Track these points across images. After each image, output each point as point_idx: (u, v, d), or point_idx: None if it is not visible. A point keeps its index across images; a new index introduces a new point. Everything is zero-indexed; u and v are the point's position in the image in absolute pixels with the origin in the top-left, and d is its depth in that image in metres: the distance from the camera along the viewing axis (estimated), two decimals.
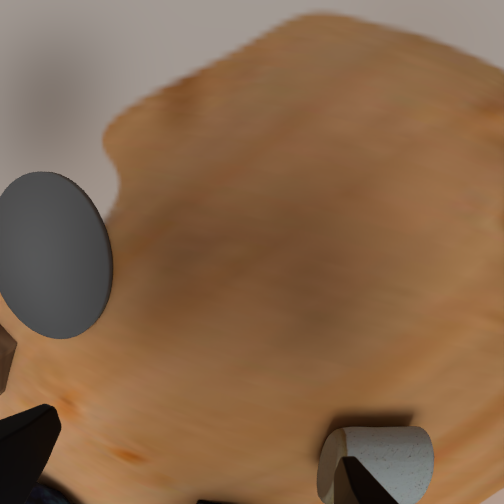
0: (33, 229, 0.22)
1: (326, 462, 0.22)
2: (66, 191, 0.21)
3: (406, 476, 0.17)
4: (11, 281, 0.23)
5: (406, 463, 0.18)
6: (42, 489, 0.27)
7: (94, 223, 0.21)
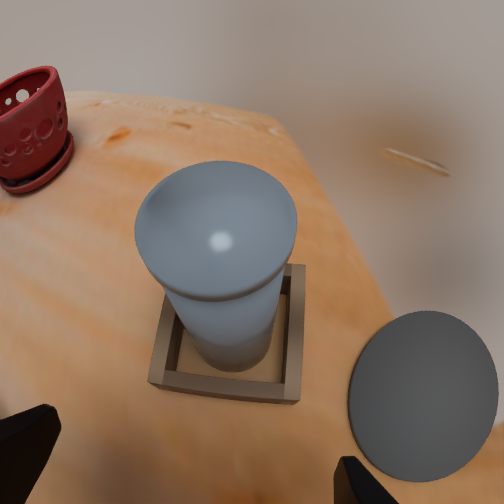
0: (452, 372, 0.21)
1: None
2: (493, 383, 0.20)
3: None
4: (387, 372, 0.21)
5: None
6: None
7: (490, 423, 0.18)
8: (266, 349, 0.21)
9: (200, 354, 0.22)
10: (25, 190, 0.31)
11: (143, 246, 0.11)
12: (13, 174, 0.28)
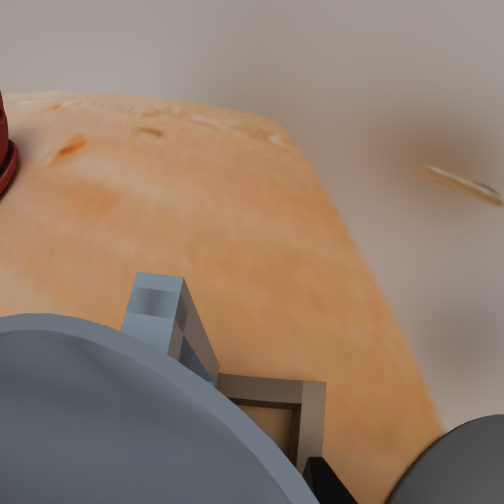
0: None
1: None
2: None
3: None
4: None
5: None
6: None
7: None
8: None
9: None
10: None
11: None
12: None
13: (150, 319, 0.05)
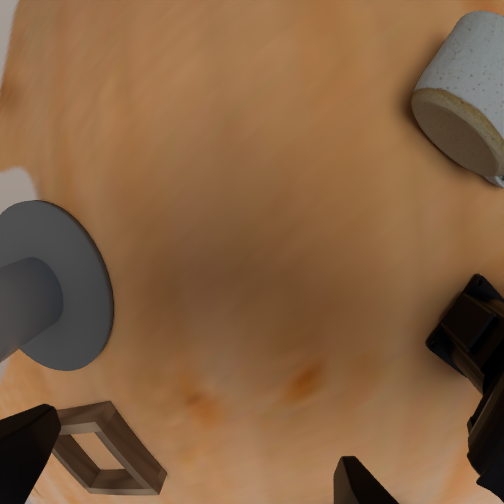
0: None
1: (452, 141, 0.15)
2: (4, 220, 0.20)
3: (494, 38, 0.10)
4: (46, 344, 0.22)
5: (476, 33, 0.11)
6: None
7: (30, 205, 0.20)
8: (32, 267, 0.19)
9: None
10: None
11: None
12: None
13: None
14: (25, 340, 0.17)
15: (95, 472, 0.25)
